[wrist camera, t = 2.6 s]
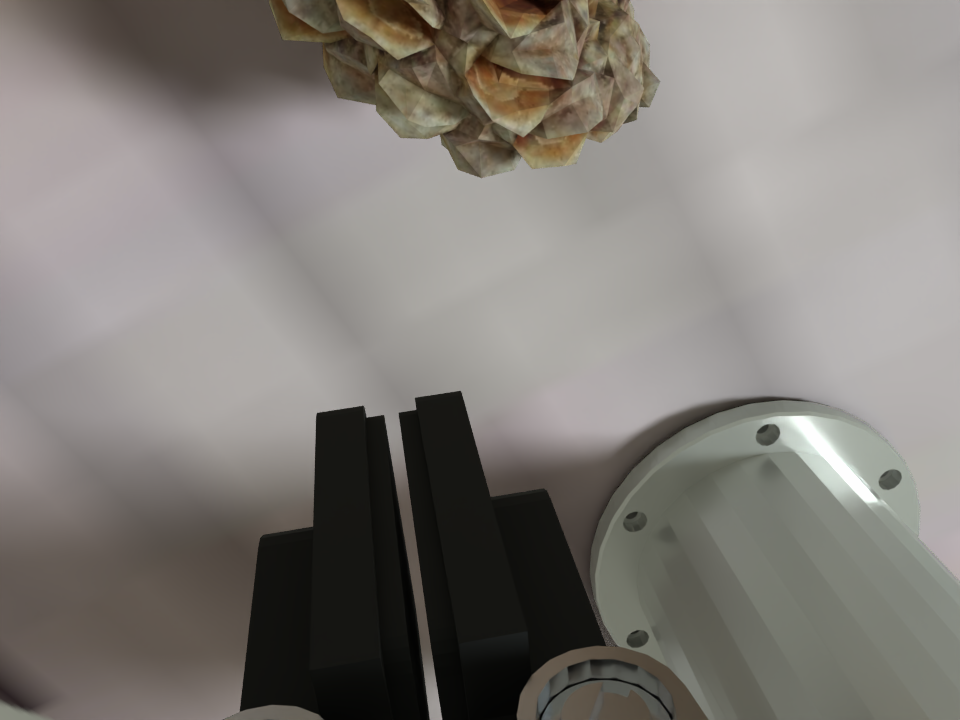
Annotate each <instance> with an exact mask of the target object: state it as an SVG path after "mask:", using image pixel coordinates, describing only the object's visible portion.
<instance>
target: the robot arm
mask: <svg viewBox="0 0 960 720" xmlns="http://www.w3.org/2000/svg"><path fill="white" fill-rule="evenodd" d="M415 402H416V409H417V410H413V411H407V412H401V413H399V419H400V426H401V433H402V441H403V448H404V455H405V462H406V469H407V477H408V484H409V491H410V498H411V506H412V513H413V520H414V527H415V534H416V542H417V549H418V556H419V563H420V571H421V578H422V585H423V592H424V599H425V607H426V614H427V621H428V628H429V635H430V642H431V649H432V655H433V662H434V669H435V675H436V682H437V688H438V694H439V701H440V707H441V713H442V720H960V581H959V580H958V579H957V578H956V577H955V576H954V574H953V573H952V572H951V571H950V570H949V569H948V568H947V567H946V566H945V565H944V564H943V563H942V562H941V561H940V560H939V559H938V558H937V557H936V555H935V554H934V553H933V552H932V551H931V550H930V549H929V548H928V547H927V546H926V545H925V544H924V543H923V542H922V541H921V540H920V539H919V538H918V536H919V531H920V502H919V497H918V492H917V487H916V483H915V481H914V479H913V476H912V474H911V472H910V470H909V468H908V466H907V464H906V462H905V460H904V459H903V458H902V457H901V456H900V455H899V454H898V452H897V451H896V450H895V449H894V448H893V447H892V446H891V444H890V443H889V442H888V441H887V440H886V439H884V438H883V437H882V436H881V435H880V434H879V433H878V432H876V431H875V430H874V429H873V428H872V427H871V426H869V425H868V424H867V423H866V422H864V421H862V420H860V419H858V418H857V417H855V416H853V415H851V414H849V413H847V412H845V411H843V410H841V409H837V408H833V407H830V406H826V405H822V404H818V403H815V402H803V401H787V400H780V401H771V402H762V403H753V404H748V405H744V406H741V407H737V408H734V409H730V410H726V411H723V412H719V413H716V414H714V415H712V416H710V417H708V418H706V419H703V420H701V421H699V422H697V423H695V424H693V425H690V426H688V427H686V428H684V429H683V430H681V431H680V432H678V433H677V434H675V435H674V436H672V437H671V438H669V439H668V440H666V441H665V442H663V443H662V444H660V445H659V446H657V447H656V448H655V449H654V450H653V451H652V452H651V453H650V454H649V455H648V456H647V457H645V458H644V459H643V460H642V461H641V462H640V463H639V464H638V465H637V466H636V467H635V468H634V469H632V471H631V472H630V473H629V475H628V476H627V477H626V478H625V480H624V481H623V482H622V484H621V485H620V486H619V487H618V489H617V490H616V491H615V493H614V494H613V496H612V497H611V499H610V501H609V503H608V505H607V507H606V509H605V511H604V513H603V515H602V517H601V519H600V520H599V523H598V527H597V530H596V534H595V537H594V540H593V544H592V547H591V560H590V579H591V585H592V591H593V596H594V600H595V602H596V605H597V607H598V610H599V613H600V615H601V618H602V621H603V624H604V625H605V627H606V629H607V630H608V632H609V633H610V635H611V637H612V638H613V640H614V642H615V643H616V644H617V645H618V646H619V647H611V646H606V644H605V642H604V639H603V636H602V634H601V631H600V628H599V626H598V623H597V620H596V618H595V615H594V612H593V610H592V607H591V605H590V602H589V599H588V597H587V594H586V591H585V589H584V586H583V583H582V581H581V578H580V576H579V573H578V570H577V568H576V565H575V562H574V560H573V557H572V554H571V552H570V549H569V546H568V544H567V541H566V539H565V536H564V533H563V531H562V528H561V525H560V523H559V520H558V517H557V515H556V512H555V509H554V507H553V504H552V502H551V499H550V497H549V495H548V492H547V491H546V490H545V489H538V490H532V491H526V492H520V493H514V494H508V495H502V496H496V497H490V494H489V490H488V487H487V483H486V479H485V476H484V472H483V469H482V465H481V461H480V458H479V454H478V450H477V447H476V443H475V440H474V436H473V432H472V429H471V425H470V421H469V418H468V414H467V411H466V407H465V403H464V400H463V396H462V393H461V391H457V392H450V393H444V394H437V395H431V396H424V397H418V398H415ZM223 720H430V719H429V711H428V703H427V695H426V686H425V678H424V670H423V662H422V654H421V646H420V638H419V630H418V622H417V615H416V608H415V601H414V595H413V589H412V582H411V576H410V570H409V564H408V558H407V552H406V546H405V540H404V534H403V527H402V521H401V515H400V509H399V503H398V497H397V491H396V485H395V479H394V473H393V466H392V460H391V454H390V448H389V442H388V436H387V430H386V424H385V418H384V415H381V416H375V417H368V418H366V413H365V408H364V406H359V407H353V408H346V409H340V410H333V411H327V412H320V413H317V416H316V447H315V484H314V520H313V527H309V528H302V529H296V530H290V531H284V532H278V533H272V534H266V535H263V536H262V537H261V538H260V542H259V547H258V555H257V564H256V573H255V582H254V591H253V600H252V608H251V617H250V626H249V635H248V644H247V653H246V661H245V670H244V679H243V688H242V697H241V706H240V712H239V713H237V714H234V715H232V716H230V717H227V718H225V719H223Z"/></svg>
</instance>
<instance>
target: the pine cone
mask: <svg viewBox="0 0 960 720" xmlns="http://www.w3.org/2000/svg"><path fill="white" fill-rule="evenodd" d="M269 5H270V7H271V10H272V13H273V16H274V18H275V21H276V24H277V26H278V29H279V32H280V35H281V37H282V40H292V41H308V42H322V43H323V62H324V69H325V71H326V73H327V75H328V77H329V79H330V82H331V84H332V86H333V88H334V90H335V93H336V95H337V97H338V98H342V99H347V100H352V101H357V102H363V103H368V104H373V105H376V111H377V112H378V114H379V115H380V116H381V117H382V118H383V119H384V120H385V121H386V122H387V123H388V125H389V126H390V127H391V128H392V129H393V130H394V131H395V132H396V133H397V134H398V135H399V137H400V138H420V139H429V138H432V137H434V136H437V135H440V137H441V143H442V145H443V146H444V147H445V148H446V149H448V150H449V152H450V155H451V157H452V159H453V161H454V163H455V165H456V167H457V169H458V170H461V171H463V172H466V173H469V174H472V175H475V176H477V177H480V178H483V177H487V176H491V175H495V174H499V173H504V172H508V171H512V170H514V169H515V168H516V166H517V164H518V162H519V161H520V159H521V157H523V159H524V160H525V161H526V162H527V163H528V165H529V166H530V167H531V168H532V169H537V168H548V167H559V166H567V165H572V164H576V163H577V160H578V157H579V155H580V152H581V150H582V147H583V145H584V142H585V139H586V138H587V139H590V140H594V141H597V142H600V143H602V142H603V141H604V140H606V139H607V138H609V137H610V136H611V135H613V134H614V133H616V132H617V131H618V130H619V128H620V127H621V126H622V124H625V123H628V122H631V121H635V120H637V115H638V110H639V107H650V105H651V102H652V100H653V97H654V95H655V92H656V90H657V88H658V85H659V83H660V81H659V80H658V79H657V77H656V76H655V75H654V74H653V73H652V71H651V70H650V69H649V57H650V44H649V43H648V41H647V39H646V37H645V36H644V34H643V32H642V30H641V29H640V26H639V24H638V23H637V22H636V21H635V20H634V9H633V6H632V4H631V2H630V0H269Z"/></svg>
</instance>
